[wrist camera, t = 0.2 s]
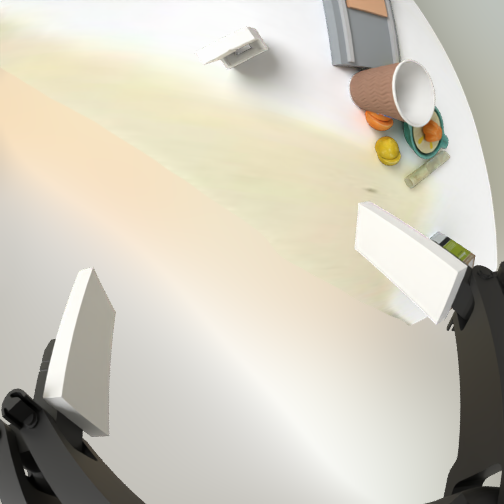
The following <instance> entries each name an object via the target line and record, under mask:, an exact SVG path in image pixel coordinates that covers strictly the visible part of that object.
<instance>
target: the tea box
mask: <svg viewBox="0 0 504 504" xmlns="http://www.w3.org/2000/svg"><path fill="white" fill-rule="evenodd" d="M430 239H431V240H434V241H436V242H437V243H438V244H440V245H441V246H443V248H446V249H447V250H448V251H449V252H451V253H452V254H454V255H455V256H457V257H458V258H459V259H461V260H462V261H463V262H465V263H466V264H467V265H468V266H470V267H471V268H473V267H474V260H475V255H474V254H472V253H471V252H470V251H468V250H467V249H465V248H464V247H462V246H461V245H459V244H458V243H456V242H455V241H453V240H452V239H450V238H449V237H447V236H445V235H444V234H442V233H440V232H437V233H436V234H435V235H434V236H432V237H431V238H430ZM451 309H452V308H451ZM451 309H450V310H451Z"/></svg>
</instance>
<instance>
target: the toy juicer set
mask: <svg viewBox="0 0 504 504" xmlns="http://www.w3.org/2000/svg"><path fill="white" fill-rule="evenodd" d="M365 115H366V120H367V122H368V123H369V125H370V126H371V127H372V128H374V129H376V130H379V131H385V130H388V129H389V128H391V127H392V126H393V119H392V118H389V117H386V116H382V115H378V114H377V113H374V112H370V111H366V113H365ZM415 125H416V124H415ZM404 135H405V138H406V140H407V142H408V144H409V146H410V147H411V148H412V149H413V150H414V151H415V153H416V154H417V155H418V156H419V157H421V158H423V159H430V158H432V157H433V156H435V155H436V154H437V152H438V151H439V149H440V148H444V149H445V148H447V146H448V137H447V136H446V135H445V134H444V127H443V120H442V117H441V114H440V112H439V110H438V109H437V107H436V106H435V108H434V112H433V115H432V117H431V119H430V121H429V122H428V123H427V124H426V125H424V126H422V127H413V126H411V125H409V124H408V123H406V122H404ZM375 149H376V152H377V154H378V158H379V160H380V161H381V162H382V163H383V164H385V165H388V166H392V165H395V164H397V163H398V162H399V160H400V158H401V155H400V152H399V147H398V144H397V142H396V141H395V140H394V139H393V138H391V137H388V136H385V137H381V138H380V139H379V140H378V141H377V142H376V145H375ZM449 158H450V156H449V154H448V153H447V152H445V151H442V152H440V153H439V154H437V155H436V156H435V157H433V158H432V159H431V160H429V161H428V162H427V163H425V164H424V165H422V166H421V167H420V168H418V169H417V170H416V171H414V172H413V173H412V174H410V175H409V176H408V177H406V178H405V182H406V184H407V186H408V187H410V188H413V187H414V186H416V185H417V184H418V183H419V182H421V181H422V180H423V179H424V178H426V177H427V176H428V175H429V174H431V173H432V172H433V171H434V170H436V169H437V168H438V167H439V166H441V165H442V164H443V163H444V162H446V161H447V160H448V159H449Z"/></svg>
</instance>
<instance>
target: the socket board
mask: <svg viewBox="0 0 504 504" xmlns="http://www.w3.org/2000/svg"><path fill="white" fill-rule="evenodd" d="M322 1H323V6H324V11H325V16H326V22H327V28H328V35H329V41H330V48H331V56H332V64H333V65H337V66H348V67H357V68H365V69H371V68H376V67H380V66H385V65H390V64H394V63H400V62H401V61H400V52H399V45H398V38H397V32H396V26H395V20H394V15H393V10H392V6H391V1H390V0H384V2H385V6H386V11H387V16H388V17H381V16H378V15H375V14H371V13H368V12H364V11H360V10H356V9H352V8H348V7H347V3H346V0H322Z"/></svg>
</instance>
